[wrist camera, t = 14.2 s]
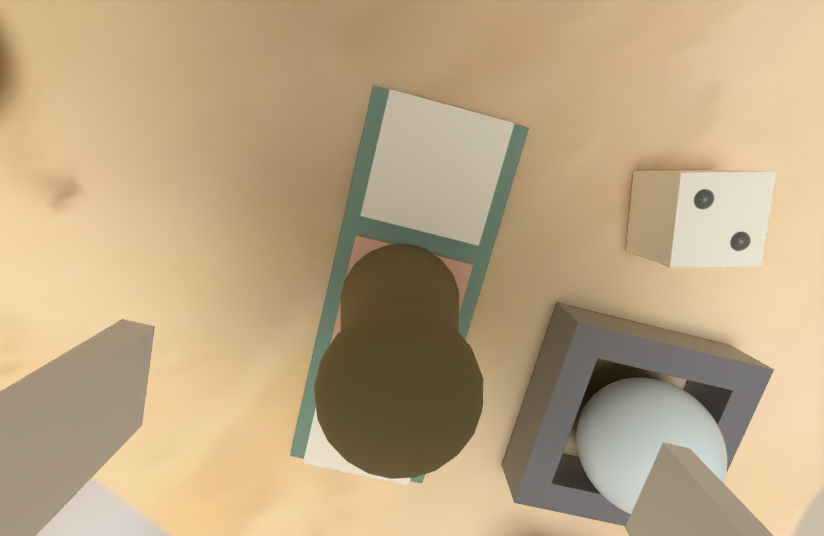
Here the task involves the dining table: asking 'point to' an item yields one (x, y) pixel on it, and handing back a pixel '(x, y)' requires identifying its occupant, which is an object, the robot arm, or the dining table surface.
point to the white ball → (642, 435)
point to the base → (566, 384)
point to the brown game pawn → (399, 367)
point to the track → (415, 216)
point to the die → (700, 217)
